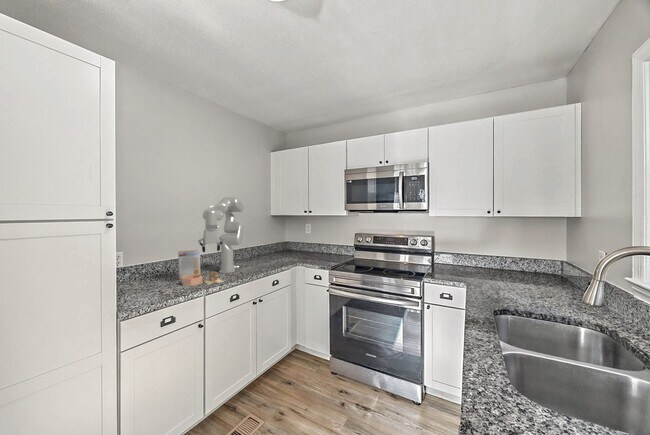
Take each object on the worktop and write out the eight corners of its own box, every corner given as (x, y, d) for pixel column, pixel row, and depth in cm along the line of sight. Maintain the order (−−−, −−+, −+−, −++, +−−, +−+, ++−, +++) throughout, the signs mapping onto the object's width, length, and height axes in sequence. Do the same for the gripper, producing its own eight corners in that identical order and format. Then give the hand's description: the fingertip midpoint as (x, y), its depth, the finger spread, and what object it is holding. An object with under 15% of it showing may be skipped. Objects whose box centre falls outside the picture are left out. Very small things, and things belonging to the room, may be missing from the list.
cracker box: (198, 276, 208) (198, 249, 207) (200, 277, 203) (200, 250, 203) (178, 279, 199) (178, 251, 199) (180, 280, 195) (179, 252, 194)
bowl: (198, 280, 194) (198, 273, 194) (204, 284, 185) (203, 276, 185) (180, 283, 186) (180, 276, 186) (185, 287, 177) (185, 279, 177)
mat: (218, 279, 198) (218, 278, 198) (224, 282, 190) (224, 281, 189) (202, 282, 190) (202, 281, 190) (207, 285, 182) (207, 284, 182)
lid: (218, 278, 198) (218, 269, 198) (224, 281, 189) (224, 272, 189) (201, 281, 190) (201, 272, 190) (207, 284, 182) (207, 275, 181)
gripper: (222, 227, 198) (222, 250, 198) (196, 227, 188) (196, 252, 188) (225, 227, 192) (225, 251, 192) (199, 228, 182) (199, 253, 182)
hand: (211, 251), depth 190 cm, fingers open, 9 cm apart
